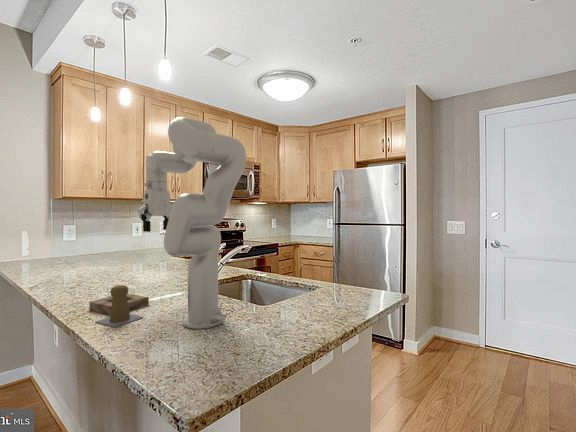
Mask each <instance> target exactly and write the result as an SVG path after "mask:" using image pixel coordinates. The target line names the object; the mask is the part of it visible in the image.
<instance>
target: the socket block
mask: <svg viewBox="0 0 576 432" xmlns="http://www.w3.org/2000/svg"><path fill="white" fill-rule="evenodd" d="M112 298H113V297H112V296H111V295H110V296H108V297H107V296H106V297H103V298H100V299H96V300H91V301H89V305H88V306H89V311H90V312H95V313H100V314H104V315H109V316H110V313H111V305H112ZM127 301H128V307H129V312H130V311H131V312H132V311H133V310H137V309H141V308H144V307H147V306H149V304H150V303H149V297H148V296H145V295H144V296H143V295H137V294H132V293H128V294H127Z"/></svg>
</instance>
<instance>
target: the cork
mask: <svg viewBox="0 0 576 432" xmlns="http://www.w3.org/2000/svg"><path fill="white" fill-rule="evenodd" d="M127 294H129V287H128V286H127V285H124V284H123V285H122V284H120V285H115V286H113V287H112V288H111V289H110V297H111V296H112V297H113V298H112V305H111V313H110V315H109V317H110V322H114V323H115V322H123V321H127V320H129V319H130V314H131V313H130V311H129V307H128V301H127Z"/></svg>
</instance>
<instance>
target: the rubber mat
mask: <svg viewBox="0 0 576 432" xmlns="http://www.w3.org/2000/svg"><path fill="white" fill-rule="evenodd" d="M129 314H130V319H129V320H127V321H123V322H115V323H114V322H110V316H109V317H106V318H102V319H99V320H96V321H95V324H99V325H102V326H105V327H111V328H119V327H122V326H124V325H127V324H131V323H134V322H136V321H139V320H142V319H144V316H140V315H136V314H133V313H132V314H131V313H129Z"/></svg>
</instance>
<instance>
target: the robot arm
mask: <svg viewBox="0 0 576 432" xmlns="http://www.w3.org/2000/svg"><path fill="white" fill-rule="evenodd" d="M167 130H168V131H167V136H168V139H169V141H170V143H171V144H172V150H173V152H169V151H161V150H155V151H153V152H152V153H150V154H148V155H146V157H145V174H146V175H145V178H146V179H145V180H146V181H145V183H144V187H145V190H144V194H143V195H144V196H143V204H142V206H141V207H139V208H137V209H136V211H137V214H138V218H140V220H141V221H142V231H143V232H144V233H145V232H147V233H150V232H151V230H152V229H151V218H152V217H153V216H154V217H160V216H161V217H162V218H163V220H162V224H163V231H164V230H165V232H164V237H163V248H164V251H165V252H166V253H167V255H169V256H171V257H187V256H191V258H190V261H189V263H188V265H187V316H186V317H185V318H183V320H182V324H183V326H184V327H186V328H188V329H195V330H196V329H198V330H199V329H200V330H202V329H210V328H213V327H217V326H219V325H221V324H222V323H224V322H225V321H226V319H227V318H228V314H227V313H224V312H222V307H219V254H220V250H221V249H220V248H221V242H222V235H221V231H220V230H219V228H218V227H217V226H215V225H218V224H220V223H222V222H223V220H224V218H225V216H226V213H227V211H228V209H229V206H230V203H231V199H232V196H233V194H234V190H235V188H236V186H237V185H238V182H239V180H240V179H241V177H242V175H243V173H244V170H245V168H246V165H247V164H246V163H247V151H246V148H245V146H244V144H243V143H242V142H241V141H240V140H238V139H237V138H235V137H232V136H229V135H224V134H220V133H217V131H216V129H215V127H214V126H213V125H212V124H210V123H209V122H206V121H203V120H198V119H193V118H188V117H185V116H183V117H182V116H178V117H176V118H174V119H173V120H171V122H170V124H169V125H168V128H167ZM197 162H201V163H210V164H218V165H219V166H218V167H216V168H215V169H214V170H213V171H212V172H211V173H210V174H209V176H208V177H207V178H206V180H205V184H204V187H203V190H202V191H201V192H199V193H192V192H191V193H190V192H188V193H183V194H182V193H181V194H179V195H178V196H177V197H176V198H175V200H174V202H173V203H172V201H171V195H170V191H169V190H168V173H171V174H186V173H188V172H190V171H191V170H193V169H194V168H195V167H196V165H197Z"/></svg>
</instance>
